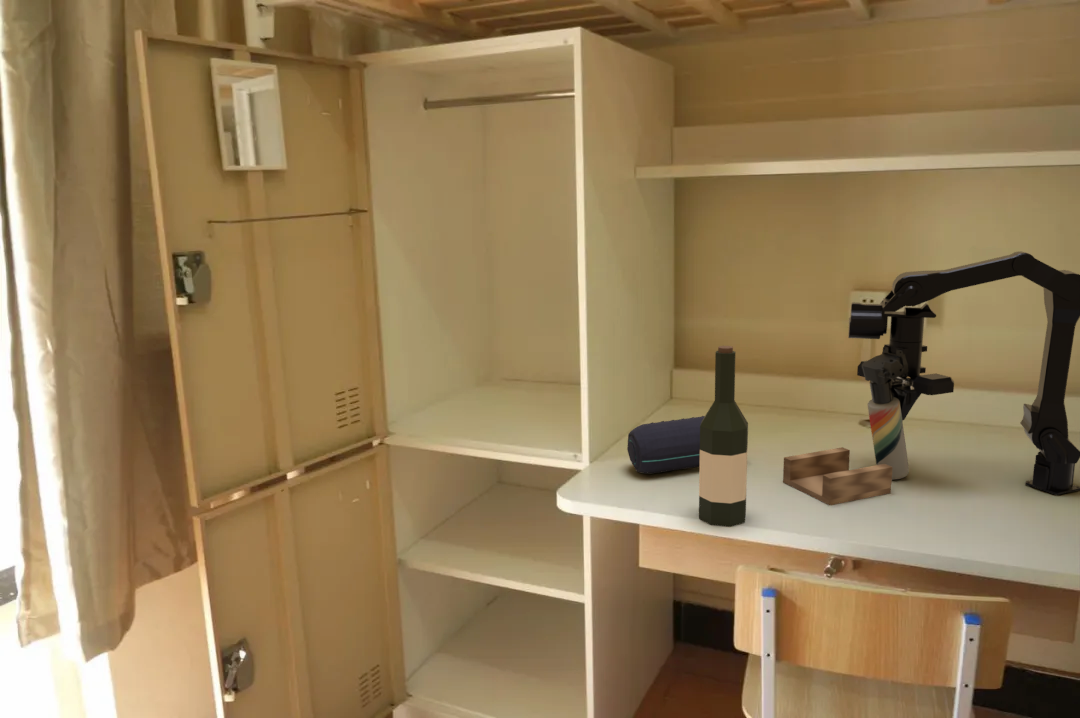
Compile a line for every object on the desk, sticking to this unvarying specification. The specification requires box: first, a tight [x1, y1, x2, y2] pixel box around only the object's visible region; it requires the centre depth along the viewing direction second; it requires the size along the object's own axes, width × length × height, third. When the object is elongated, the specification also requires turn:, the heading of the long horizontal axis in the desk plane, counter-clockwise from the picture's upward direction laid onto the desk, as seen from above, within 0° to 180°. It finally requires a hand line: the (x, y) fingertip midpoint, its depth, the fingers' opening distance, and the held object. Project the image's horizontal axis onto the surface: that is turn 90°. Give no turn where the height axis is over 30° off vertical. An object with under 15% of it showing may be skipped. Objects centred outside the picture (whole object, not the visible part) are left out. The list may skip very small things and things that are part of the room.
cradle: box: [782, 446, 893, 506], centre depth 155 cm, size 14×13×5 cm
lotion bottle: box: [867, 379, 910, 480], centre depth 157 cm, size 6×6×20 cm
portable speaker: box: [626, 415, 705, 475], centre depth 168 cm, size 25×10×10 cm, turn 109°
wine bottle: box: [698, 345, 749, 528], centre depth 140 cm, size 8×8×30 cm
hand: (900, 420), depth 158 cm, fingers closed
